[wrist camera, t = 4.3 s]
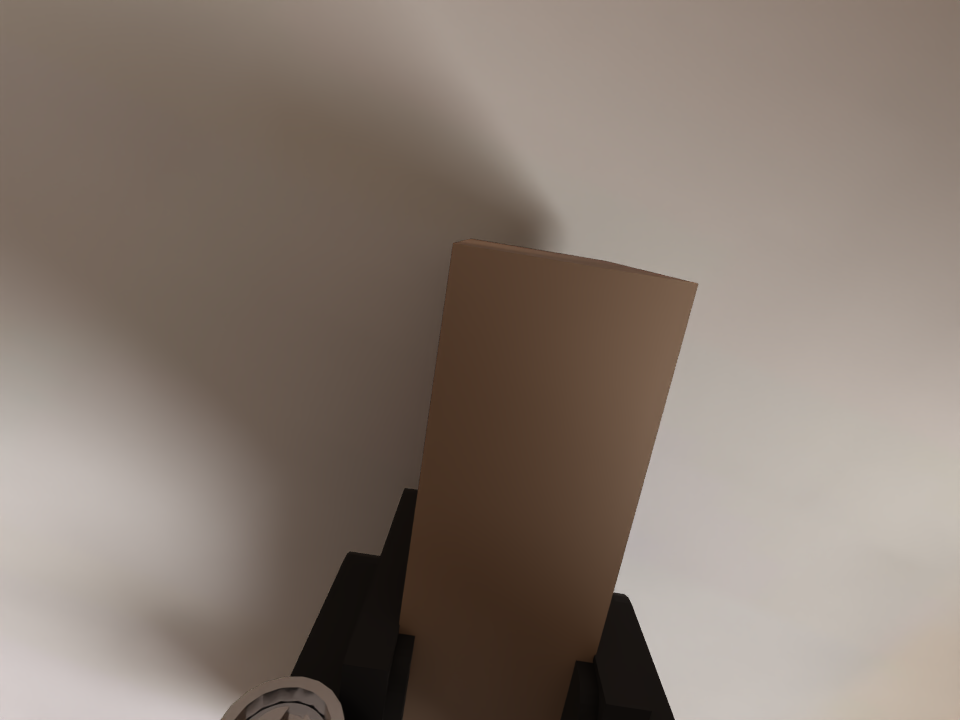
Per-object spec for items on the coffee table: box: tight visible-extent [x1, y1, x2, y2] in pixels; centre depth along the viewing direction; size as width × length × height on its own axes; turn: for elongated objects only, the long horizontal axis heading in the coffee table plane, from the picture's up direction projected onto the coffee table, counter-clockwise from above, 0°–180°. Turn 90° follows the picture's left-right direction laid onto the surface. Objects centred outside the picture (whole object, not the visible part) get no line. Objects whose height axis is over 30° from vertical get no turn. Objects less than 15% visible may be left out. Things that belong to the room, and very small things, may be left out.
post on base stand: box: [399, 239, 698, 720], centre depth 8 cm, size 7×13×5 cm, turn 171°
